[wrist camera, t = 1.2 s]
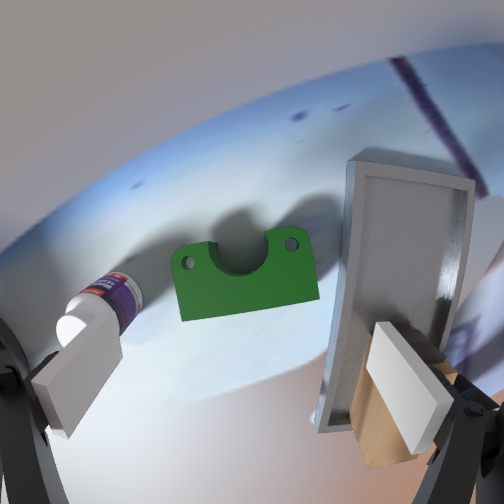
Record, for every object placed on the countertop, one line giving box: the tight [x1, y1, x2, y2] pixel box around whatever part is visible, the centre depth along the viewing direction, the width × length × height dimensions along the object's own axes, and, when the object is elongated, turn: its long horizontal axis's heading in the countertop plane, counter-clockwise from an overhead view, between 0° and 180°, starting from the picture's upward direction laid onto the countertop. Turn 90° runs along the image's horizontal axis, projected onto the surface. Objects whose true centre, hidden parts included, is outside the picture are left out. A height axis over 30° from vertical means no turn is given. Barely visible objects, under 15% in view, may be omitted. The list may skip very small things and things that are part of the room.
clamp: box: [171, 226, 320, 322], centre depth 26 cm, size 12×6×9 cm, turn 94°
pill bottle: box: [56, 272, 143, 348], centre depth 25 cm, size 5×5×10 cm
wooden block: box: [348, 329, 458, 469], centre depth 27 cm, size 6×13×9 cm, turn 178°
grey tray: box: [314, 160, 475, 433], centre depth 29 cm, size 14×30×2 cm, turn 178°
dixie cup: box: [453, 374, 500, 411], centre depth 28 cm, size 8×8×11 cm
